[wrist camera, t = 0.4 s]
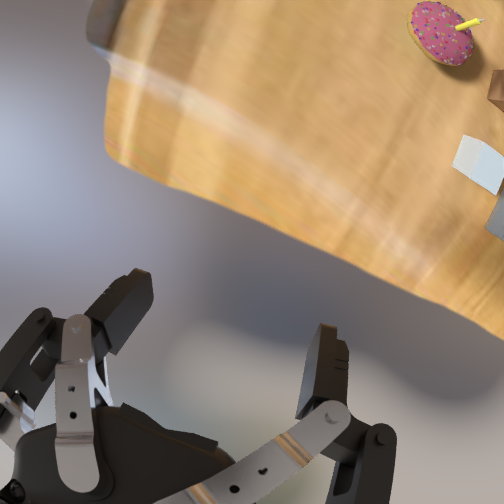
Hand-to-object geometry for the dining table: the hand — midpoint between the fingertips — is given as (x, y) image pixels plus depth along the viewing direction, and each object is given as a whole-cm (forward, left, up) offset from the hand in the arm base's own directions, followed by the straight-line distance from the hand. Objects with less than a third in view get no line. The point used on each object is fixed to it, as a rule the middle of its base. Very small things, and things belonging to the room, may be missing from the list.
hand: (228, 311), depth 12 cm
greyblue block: (-11, +23, -28) cm, 38 cm away
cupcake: (-24, +12, -28) cm, 39 cm away
